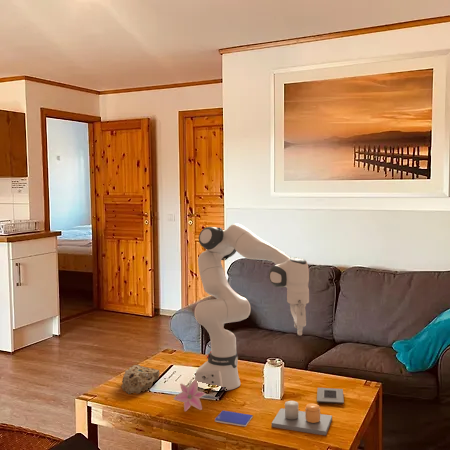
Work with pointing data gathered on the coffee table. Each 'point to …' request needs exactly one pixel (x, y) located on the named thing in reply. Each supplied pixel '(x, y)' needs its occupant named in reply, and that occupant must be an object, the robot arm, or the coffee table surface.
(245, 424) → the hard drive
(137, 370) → the rock
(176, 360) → the coffee table surface
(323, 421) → the plate
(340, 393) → the electrical outlet
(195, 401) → the lily
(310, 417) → the orange rounded cylinder
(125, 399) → the coffee table surface
